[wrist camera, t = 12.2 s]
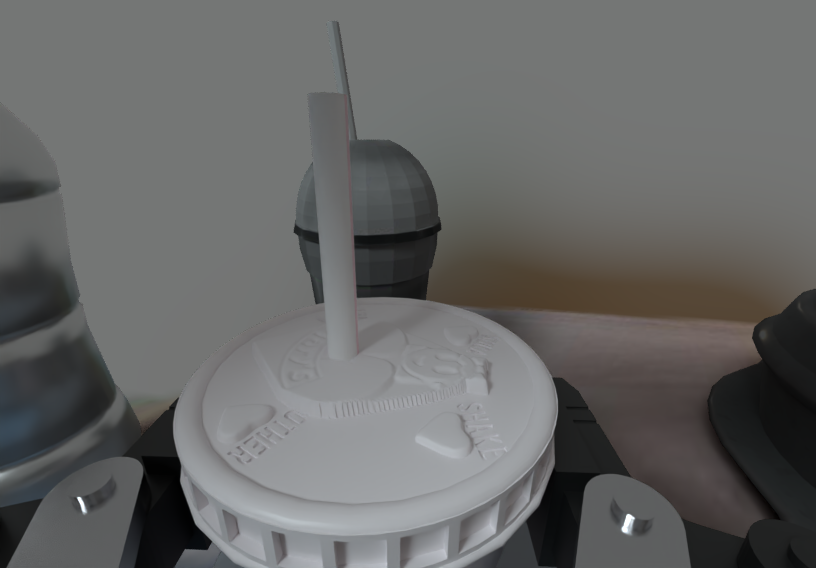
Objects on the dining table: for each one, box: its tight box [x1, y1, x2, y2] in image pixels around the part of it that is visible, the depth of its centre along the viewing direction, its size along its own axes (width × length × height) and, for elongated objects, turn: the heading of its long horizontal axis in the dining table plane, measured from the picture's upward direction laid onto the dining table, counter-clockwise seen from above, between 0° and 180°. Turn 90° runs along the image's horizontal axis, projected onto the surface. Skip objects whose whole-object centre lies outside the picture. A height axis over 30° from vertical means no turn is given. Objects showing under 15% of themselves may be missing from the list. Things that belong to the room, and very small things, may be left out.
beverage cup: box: [294, 21, 441, 304], centre depth 19 cm, size 7×7×20 cm
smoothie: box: [173, 92, 558, 568], centre depth 8 cm, size 6×6×14 cm
